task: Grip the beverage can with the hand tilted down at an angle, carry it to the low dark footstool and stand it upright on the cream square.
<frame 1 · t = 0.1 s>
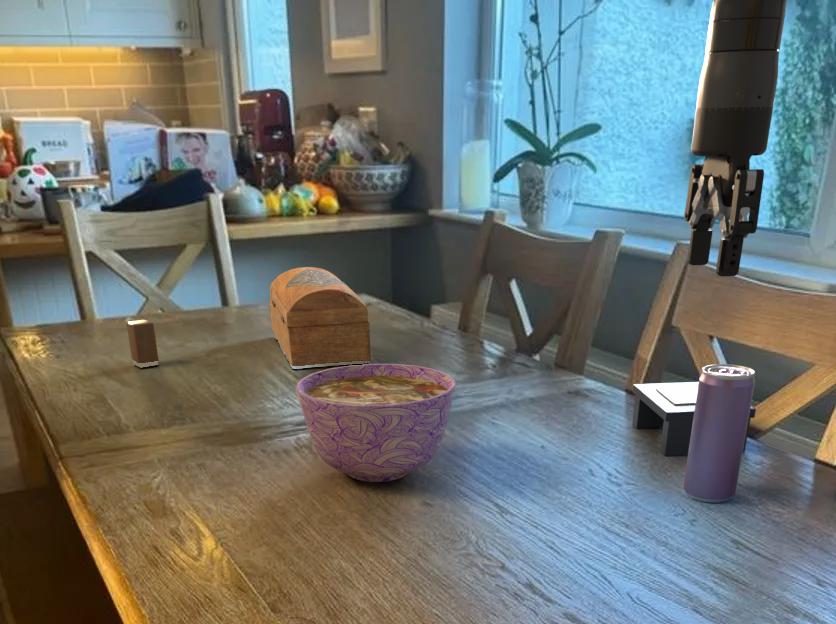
hand: (711, 270, 100), 25 cm above the table, tool pointing down, fingers open, 8 cm apart
beverage can: (708, 496, 109), on the table
bowl of food: (378, 472, 118), on the table
wooden box: (321, 350, 179), on the table
wooden block: (146, 366, 170), on the table
dark footstool: (685, 438, 127), on the table
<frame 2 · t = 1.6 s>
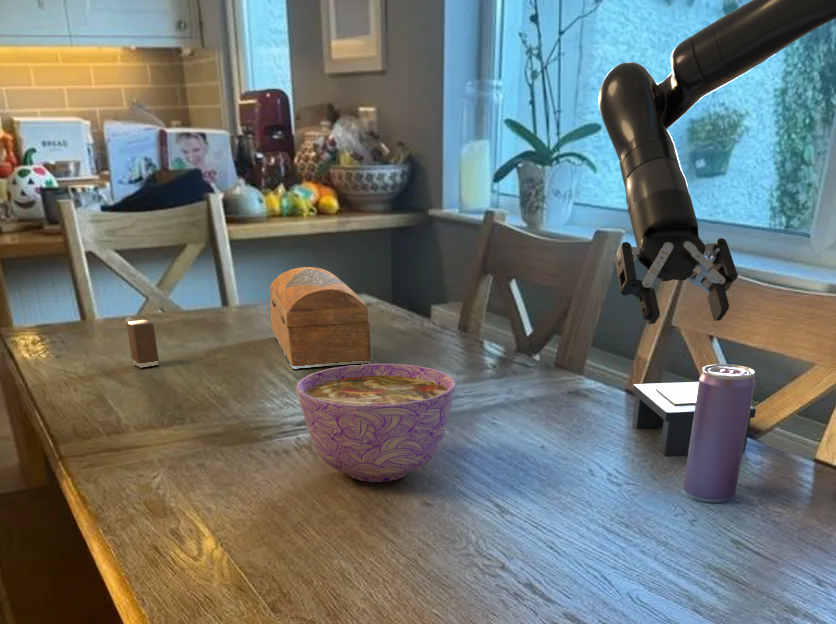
hand: (687, 318, 110), 18 cm above the table, tool tilted 45°, fingers open, 8 cm apart
nothing on the table moved.
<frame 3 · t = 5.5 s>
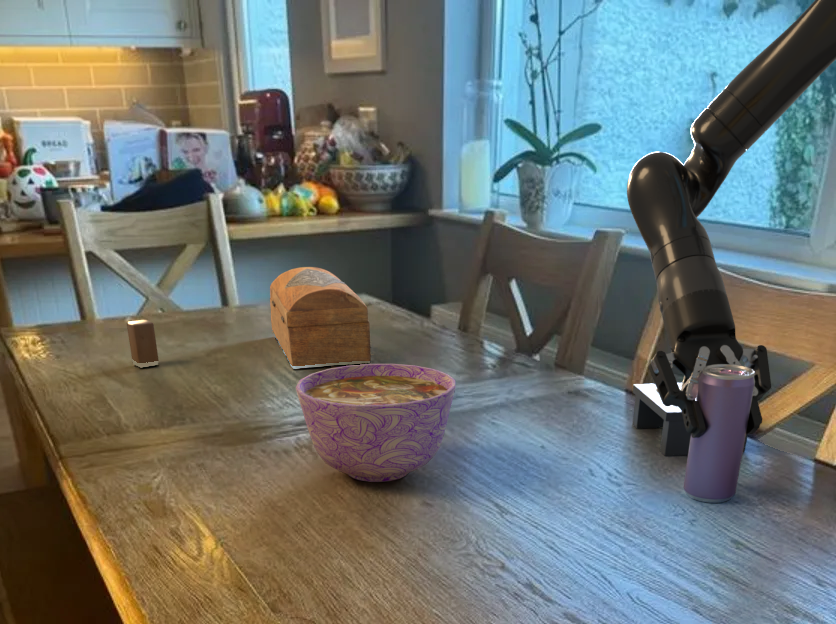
hand: (726, 432, 103), 8 cm above the table, tool tilted 45°, fingers closed on beverage can, 6 cm apart
beverage can: (708, 496, 109), on the table, touching gripper
everything else where it was.
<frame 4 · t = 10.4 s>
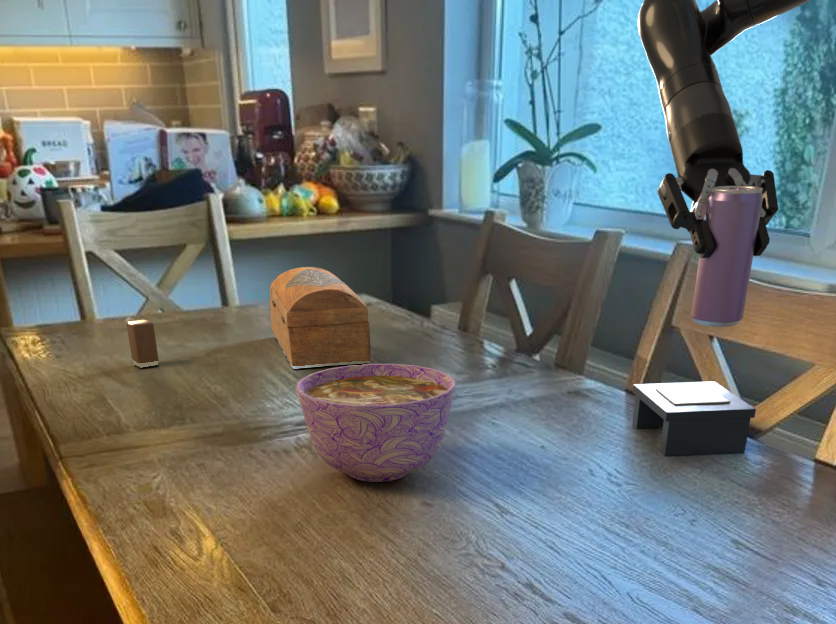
hand: (734, 252, 105), 26 cm above the table, tool tilted 45°, fingers closed on beverage can, 6 cm apart
beverage can: (715, 323, 110), point 18 cm above the table, touching gripper
everything else where it was.
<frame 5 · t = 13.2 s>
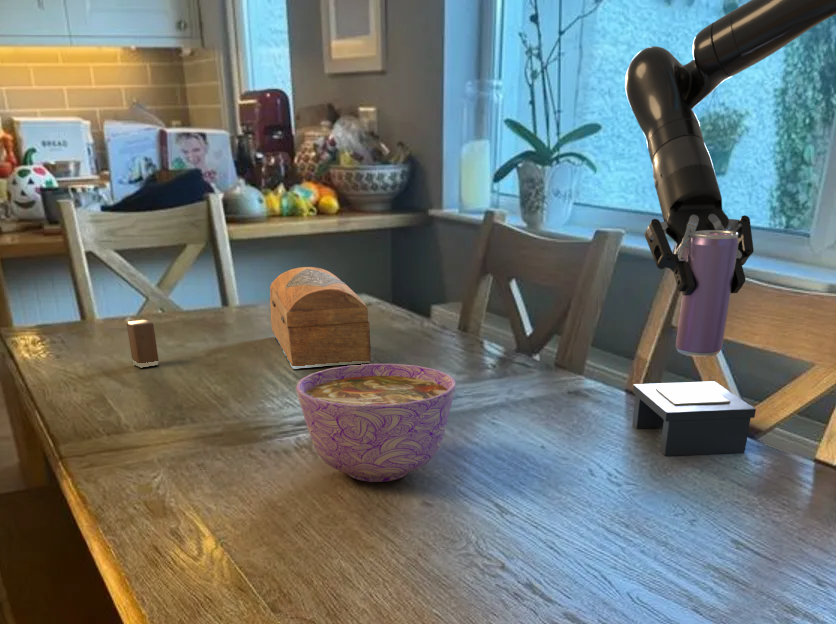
hand: (713, 290, 116), 20 cm above the table, tool tilted 45°, fingers closed on beverage can, 6 cm apart
beverage can: (697, 353, 122), point 12 cm above the table, touching gripper
everything else where it was.
when the fingers open (15 cm above the table, at t = 15.3 s): beverage can stays where it is, resting on dark footstool.
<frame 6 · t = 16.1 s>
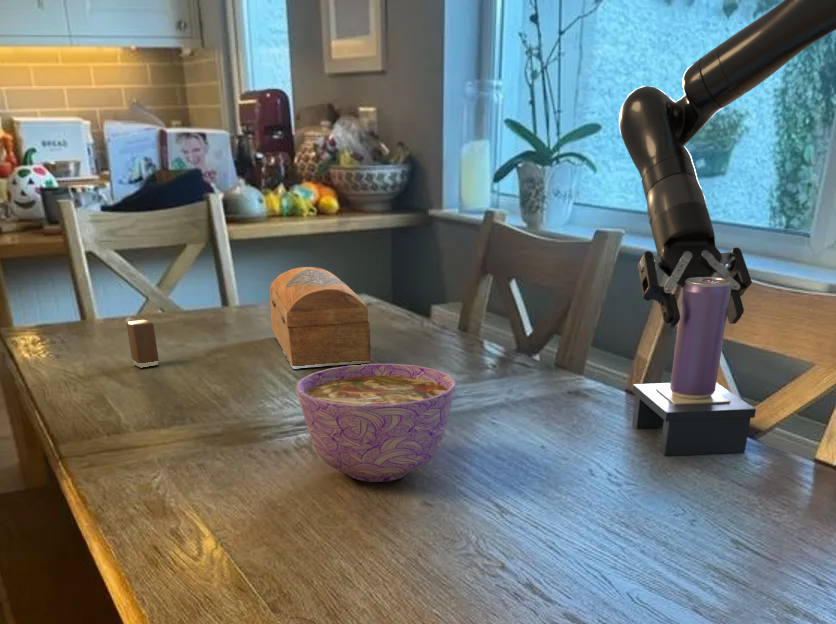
hand: (705, 321, 119), 16 cm above the table, tool tilted 45°, fingers open, 8 cm apart
beverage can: (691, 395, 124), point 6 cm above the table, touching dark footstool
everything else where it was.
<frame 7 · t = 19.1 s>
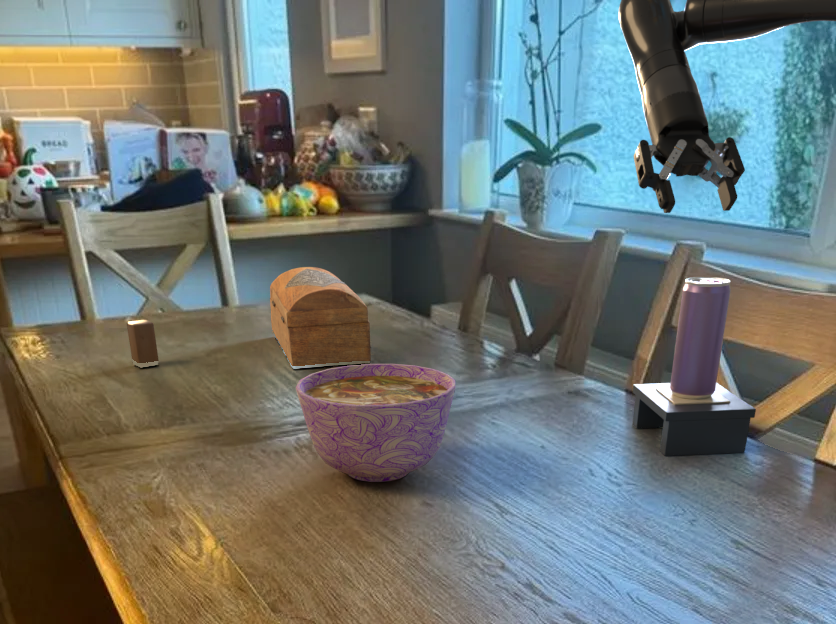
hand: (700, 207, 121), 29 cm above the table, tool tilted 45°, fingers open, 8 cm apart
nothing on the table moved.
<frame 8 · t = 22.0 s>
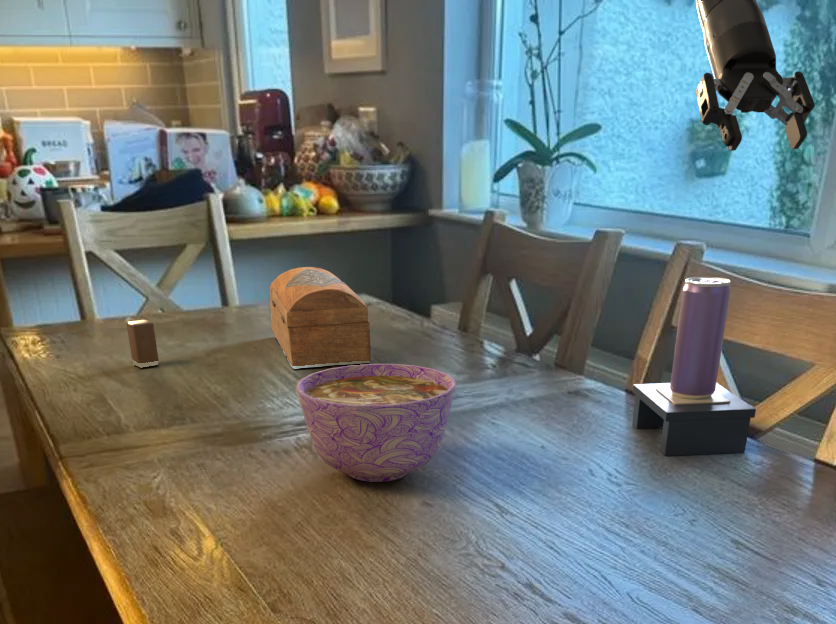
hand: (767, 144, 114), 37 cm above the table, tool tilted 45°, fingers open, 8 cm apart
nothing on the table moved.
at the end: beverage can 0.2 cm off-centre on the dark footstool, point 6.0 cm above the dark footstool's base; beverage can tilted 0°; the gripper is holding nothing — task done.
